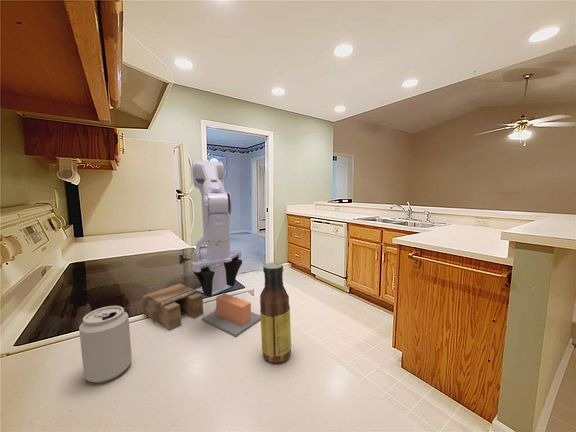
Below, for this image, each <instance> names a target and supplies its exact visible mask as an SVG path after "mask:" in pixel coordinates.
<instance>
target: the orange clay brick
mask: <svg viewBox="0 0 576 432" xmlns="http://www.w3.org/2000/svg"><path fill="white" fill-rule="evenodd" d="M251 304H252V303H251V302H249V301H246V300H244V299H241V298H237V297H235V296H232V295H230V294H227V293H225V292H224V293H222V294H220V295H218V296H215V305H216V306H215V308H216V310H215V311H216V314H217V315H218V316H221V317H223V318H225V319H227V320H230V321H232V322H234V323H237V324H239V325H241V326H244V325H246V324H247V323H249V322H250V321H251V312H252V307H251V306H252V305H251Z"/></svg>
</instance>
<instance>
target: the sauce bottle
mask: <svg viewBox="0 0 576 432" xmlns="http://www.w3.org/2000/svg"><path fill="white" fill-rule="evenodd" d="M262 268H263V269H262V270H263V273H264V287H263V289H262V291H261V293H260V296H259V304H260V309H259V311H260V312H259V315H260V317H261V320H260V328H261V329H260V331H261V334H260V336H261V350H262V353H263V354H262V355H263V357H264V359H265V360H266V361H267V362H270V363H274V364H280V363H282V362H286V360H287V361H288V359H289V358H290V356H291V353H292V333H291V331H292V330H291V328H292V327H291V306H290V300H289V299H290V298H289V294H288V292H287V290H286V288H285V287H284V286H285V285H284V281H283V280H284V279H283V275H284V274H283V272H284V265H283V263H280V262H275V261H273V262H267V263H265V264H264V265H263V267H262Z"/></svg>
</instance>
